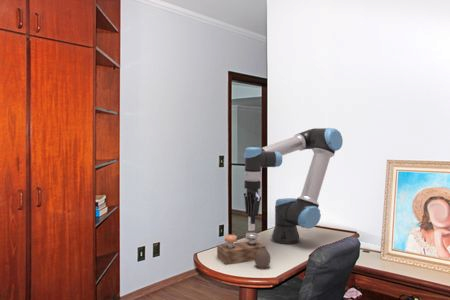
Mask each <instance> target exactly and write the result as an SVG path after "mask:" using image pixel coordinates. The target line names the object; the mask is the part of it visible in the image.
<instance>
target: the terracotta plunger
mask: <svg viewBox="0 0 450 300" xmlns="http://www.w3.org/2000/svg"><path fill="white" fill-rule="evenodd" d="M237 241H238V236H237V234H225V235H224V242H227V244H228V248H233V243H237Z"/></svg>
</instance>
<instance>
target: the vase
mask: <svg viewBox="0 0 450 300" xmlns="http://www.w3.org/2000/svg"><path fill="white" fill-rule="evenodd" d="M264 246H265V245H264ZM264 246H261V247H260V248H259V250H258V251H257V252H256V254H255V261H254V263H255V265H256V266H257V267H258V268H259V269H267V268H268V267H269V266H270V264H271V254H270V252H269V251H268V249H267V246H265V247H264Z"/></svg>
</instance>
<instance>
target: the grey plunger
mask: <svg viewBox="0 0 450 300" xmlns="http://www.w3.org/2000/svg"><path fill="white" fill-rule="evenodd" d="M258 238H259V234H258V232H254V231H251V232H250V231H249V232H246V233H245V239H247V240H248V241H249V245H250V246H252V245H254V241H257V240H258Z"/></svg>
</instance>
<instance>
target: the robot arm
mask: <svg viewBox="0 0 450 300" xmlns="http://www.w3.org/2000/svg"><path fill="white" fill-rule="evenodd" d="M342 146H343V136H342V134H341V132H340V130H338V129H336V128H331V127H325V128H320V127H317V128H315V127H314V128H311V129H307V130H305V131H301V132H299V133H296V134H295V135H293V136H292V137H289V138H286V139H284V140H280V141H278V142H275V143H273V144H269V145H266V146H263V147H252V146H251V147H250V146H249V147H246V148H245V150H244V151H245V153H244V154H243V160H244V174H243V175H244V186H243V187H244V189H246V192H245V193H243V197H244V207H245V215H246V214H247V217H248V221H247V223H248V225H247V228H248V229H247V230H248V231H249V232H250V231H251V232H254V231H255V230H256V217H258V216H259V212H260V205H261V200H262V197H261V196H259V190H260V189H261V178H262V168H276V167H280V166H281V165H282V163H283V156H285V155H287V154H292V153H293V152H296V151H300V152H302V151H305V150H312V151H313V156H312V159H311V161H310V165H309V168H308V172H307V175H306V178H305V181H304V185H303V188H302V191H301V194H300V196H298V197H297V198H294V197H293V198H292V197H290V198H287V197H286V198H279V199H276V200H275V206H274V207H275V208H274V211H275V212H274V217H275V218H274V228H273V231H272V234H271V241H272V242H275V243H277V244H283V245H295V244H298V243H299V242H300V234H299V231H298V227H300V228H303V229H313V228H314V227H316V226H317V225H318V224H319V222H320V220H321V217H322V216H321V210H320V208H319V206H320V204H319V202H318V199H319V196H320V192H321V189H322V186H323V183H324V179H325V175H326V172H327V169H328V166H329V163H330V159H331V158H332V157H334V156H335V153H336V152H337V151H339V150H341V148H342Z"/></svg>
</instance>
